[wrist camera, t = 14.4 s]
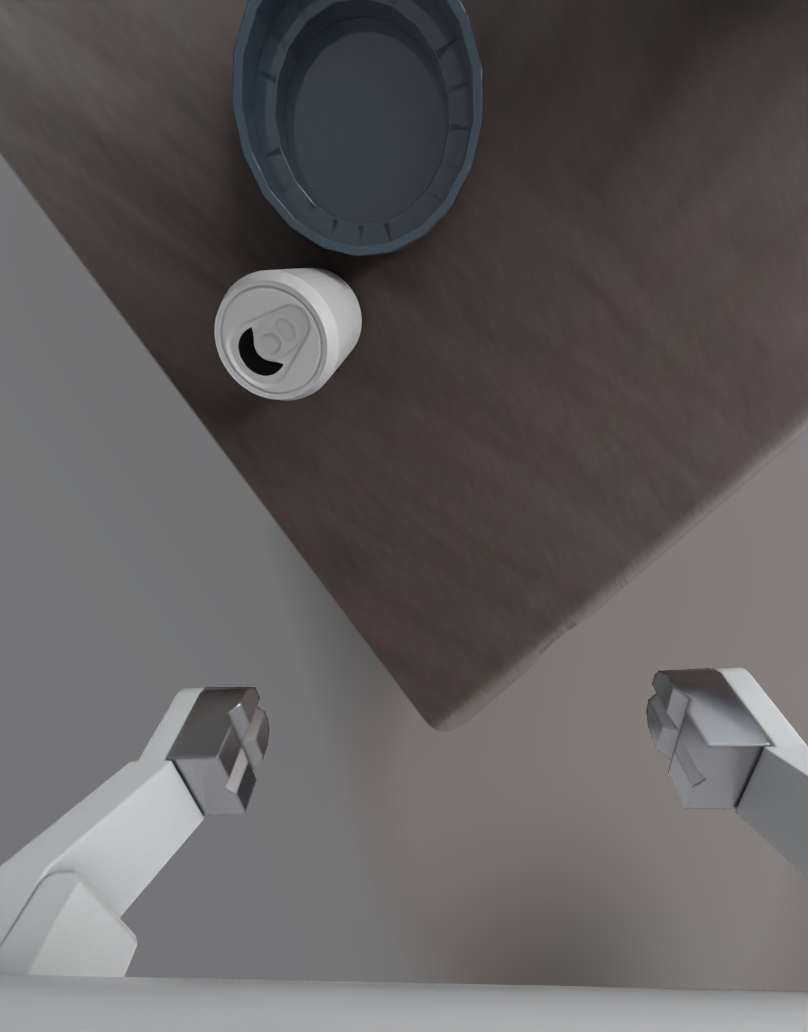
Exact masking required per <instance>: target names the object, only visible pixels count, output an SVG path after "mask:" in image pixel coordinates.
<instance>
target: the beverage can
mask: <svg viewBox="0 0 808 1032" xmlns="http://www.w3.org/2000/svg"><path fill="white" fill-rule="evenodd" d="M361 326H362V317H361V310H360V306H359V303H358V300H357V298H356V296H355V294H354V292H353V291H352V289H351V288H350V287H349V285H348V284H347V283H346V282H345V281H344V280H343V279H341V278H340V277H339V276H337V275H336V274H334V273H332V272H330V271H328V270H325V269H321V268H296V269H278V270H263V271H257V272H254V273H251V274H248V275H246V276H244V277H243V278H241V279H239V280H238V281H237V282H236V283H234V284H233V285H232V286H231V287H230V289H229V290H228V291H227V293H226V294H225V296H224V298H223V300H222V302H221V305H220V307H219V309H218V312H217V315H216V319H215V327H214V334H215V343H216V347H217V350H218V353H219V356H220V359H221V361H222V363H223V364H224V366H225V368H226V369H227V371H228V372H229V373H230V375H231V376H232V377H233V378H234V379H235V380H236V381H237V382H238V383H239V384H240V385H241V386H243V387H244V388H245V389H247V390H248V391H250V392H252V393H254V394H256V395H258V396H261V397H264V398H268V399H276V400H296V399H301V398H304V397H307V396H309V395H311V394H313V393H314V392H316V391H317V390H319V389H320V388H321V387H322V386H323V385H324V384H325V383H326V382H327V381H328V379H329V378H330V377H331V376H332V374H333V373H334V372H335V371H336V370H337V368H338V367H339V366H340V365H341V363H342V362H343V361H344V360H345V358H346V357H347V356H348V355H349V354H350V352H351V351H352V350H353V348H354V347H355V345H356V343H357V341H358V339H359V336H360V332H361Z"/></svg>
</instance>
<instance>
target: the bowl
mask: <svg viewBox="0 0 808 1032" xmlns="http://www.w3.org/2000/svg"><path fill="white" fill-rule="evenodd" d="M248 1H249V2H247V5H246V9H245V13H244V16H243V20H242V23H241V27H240V30H239V34H238V37H237V41H236V45H235V48H234V55H233V109H234V114H235V118H236V123H237V128H238V132H239V137H240V141H241V146H242V151H243V153H244V156H245V158H246V161H247V163H248V165H249V167H250V169H251V171H252V173H253V175H254V177H255V179H256V181H257V183H258V185H259V187H260V189H261V192H262V194H263V195H264V197H265V198H266V199H267V200H268V201H269V203H270V204H271V205H272V206H273V207H274V208H275V210H276V211H277V212H278V213H279V214H280V215H281V217H282V218H283V219H284V220H285V221H286V222H287V224H288V225H289V226H290V227H291V228H293V229H294V230H296V231H297V232H299V233H300V234H302V235H303V236H305V237H306V238H308V239H310V240H311V241H313V242H314V243H316V244H317V245H319V246H320V247H323V248H325V249H329V250H333V251H337V252H341V253H345V254H349V255H353V256H373V255H382V254H390V253H395V252H398V251H400V250H402V249H404V248H405V247H407V246H409V245H411V244H413V243H415V242H417V241H419V240H421V239H423V238H424V237H425V236H426V235H427V234H428V233H429V232H430V231H431V230H432V229H433V228H434V227H435V226H436V225H437V224H438V223H439V222H440V221H441V220H442V219H443V218H444V217H445V216H446V215H447V213H448V212H449V210H450V208H451V206H452V204H453V203H454V201H455V199H456V197H457V195H458V193H459V191H460V189H461V187H462V185H463V184H464V182H465V180H466V178H467V176H468V174H469V172H470V169H471V167H472V163H473V159H474V154H475V150H476V146H477V142H478V137H479V133H480V129H481V124H482V119H483V111H482V67H481V61H480V58H479V54H478V50H477V46H476V43H475V39H474V35H473V31H472V28H471V24H470V20H469V16H468V14H467V12H466V10H465V8H464V7H463V5H462V3H461V1H460V0H248Z"/></svg>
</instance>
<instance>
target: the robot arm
mask: <svg viewBox="0 0 808 1032" xmlns="http://www.w3.org/2000/svg"><path fill="white" fill-rule="evenodd" d="M652 685H653V687H654V689H655V691H656V694H655V695H654V696H652V697H651V698H650V699H649V700H648V706H647V711H646V712H647V720H648V727H649V730H650V733H651V737H652V739H653V741H654V743H655V746H656V748H657V750H659V751H660V752H661V753H662V754H663V755H665V756H666V757H667V758H669V759H670V760H671V763H670V767H669V771H668V773H669V775H670V778H671V779H672V782H673V784H674V786H675V788H676V790H677V792H678V794H679V796H680V798H681V800H682V803H683V804H684V807H685V809H736V813H737V814H738V815H739V816H740V817H741V818H742V819H743V820H744V821H746V823H748V824H749V825H750V826H751V827H752V828H753V829H754V830H755V831H756V832H757V833H758V834H760V836H762V837H763V838H764V839H765V840H766V841H767V842H768V843H769V844H770V845H771V846H772V847H773V848H774V849H776V850H777V851H778V852H779V853H780V854H781V855H782V856H783V857H784V858H785V859H786V860H787V861H789V862H790V863H791V864H792V865H793V866H794V867H795V868H796V869H797V870H798V871H799V872H800V873H801V874H802V875H804V876H805V877H806V878H807V879H808V746H807V745H806V744H805V742H804V741H803V740H802V739H801V738H800V736H799V735H798V734H797V732H796V731H795V730H794V728H793V727H792V726H791V725H790V723H789V722H788V721H787V720H786V718H785V717H784V716H783V715H782V714H781V712H780V711H779V710H778V708H777V707H776V706H775V705H774V703H773V702H772V701H771V700H770V698H769V697H768V696H767V695H766V693H765V692H764V691H763V689H762V688H761V687H760V686H759V684H758V683H757V682H756V681H755V679H754V678H753V677H752V676H751V674H750V673H749V672H748V671H746V670H745V669H743V668H717V669H710V668H706V669H688V670H667V671H658V672H657V673H656V674H655V675H654V679H653V683H652ZM259 699H260V697H259V695H258V693H257V691H256V688H255V687H206V688H183V689H182V690H181V691H180V692H179V693H177V695H176V696H175V698H174V699H173V701H172V703H171V705H170V706H169V708H168V710H167V712H166V713H165V715H164V717H163V718H162V720H161V722H160V724H159V726H158V727H157V729H156V730H155V732H154V734H153V736H152V737H151V739H150V741H149V743H148V744H147V746H146V748H145V750H144V751H143V753H142V755H141V756H140V758H139V760H138V761H131V762H129V763H128V764H127V765H126V766H124V767H123V768H122V769H121V770H120V771H118V772H117V773H116V774H114V775H113V776H112V777H111V778H109V779H108V780H107V781H106V782H105V783H103V784H102V785H101V786H99V787H98V788H97V789H96V790H94V791H93V792H92V793H91V794H89V795H88V796H87V797H86V798H85V799H83V800H82V801H81V802H79V803H78V804H77V805H76V806H74V807H73V808H72V809H71V810H69V811H68V812H67V813H66V814H65V815H63V816H62V817H61V818H60V819H58V820H57V821H56V822H55V823H53V824H52V825H51V826H50V827H48V828H47V829H46V830H45V831H43V832H42V833H41V834H40V835H38V836H37V837H36V838H35V839H33V840H32V841H31V842H30V843H28V844H27V845H26V846H25V847H23V848H22V849H21V850H20V851H18V852H17V853H16V854H15V855H13V856H12V857H11V858H10V859H8V860H7V861H6V862H5V863H3V864H2V865H1V866H0V1032H808V991H766V990H718V989H670V988H624V987H576V986H575V987H574V986H573V987H572V986H525V985H481V984H433V983H385V982H338V981H337V982H336V981H335V982H334V981H291V980H287V981H286V980H243V979H242V980H240V979H194V978H146V977H124V976H125V973H126V971H127V968H128V966H129V964H130V961H131V958H132V956H133V954H134V951H135V949H136V946H137V940H136V936H135V934H134V933H133V932H132V931H131V930H130V929H129V928H128V927H127V926H126V925H125V923H124V922H123V921H122V920H121V919H120V917H121V916H122V914H123V913H124V912H125V911H126V910H127V909H128V907H129V906H130V905H131V904H132V903H133V901H134V900H135V899H136V898H137V897H138V895H139V894H140V893H141V892H142V891H143V890H144V889H145V887H146V886H147V885H148V884H149V883H150V882H151V880H152V879H153V878H154V877H155V876H156V874H157V873H158V872H159V871H160V870H161V868H162V867H163V866H164V865H165V864H166V863H167V862H168V860H169V859H170V858H171V857H172V856H173V855H174V853H175V852H176V851H177V850H178V849H179V847H180V846H181V845H182V844H183V843H184V841H185V840H186V839H187V838H188V837H189V836H190V834H191V833H192V832H193V831H194V830H195V829H196V827H197V826H198V825H199V824H200V823H201V822H202V820H203V819H204V816H207V815H229V814H245V813H246V810H247V807H248V804H249V801H250V798H251V795H252V792H253V789H254V786H255V783H256V777H255V775H254V772H253V769H254V768H255V767H256V766H257V764H259V763H260V762H261V761H262V760H263V758H264V755H265V752H266V749H267V745H268V737H269V724H268V718H267V716H266V713H265V711H263V710H262V709H260V708H259V707H258V706H257V704H258V701H259Z"/></svg>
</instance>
